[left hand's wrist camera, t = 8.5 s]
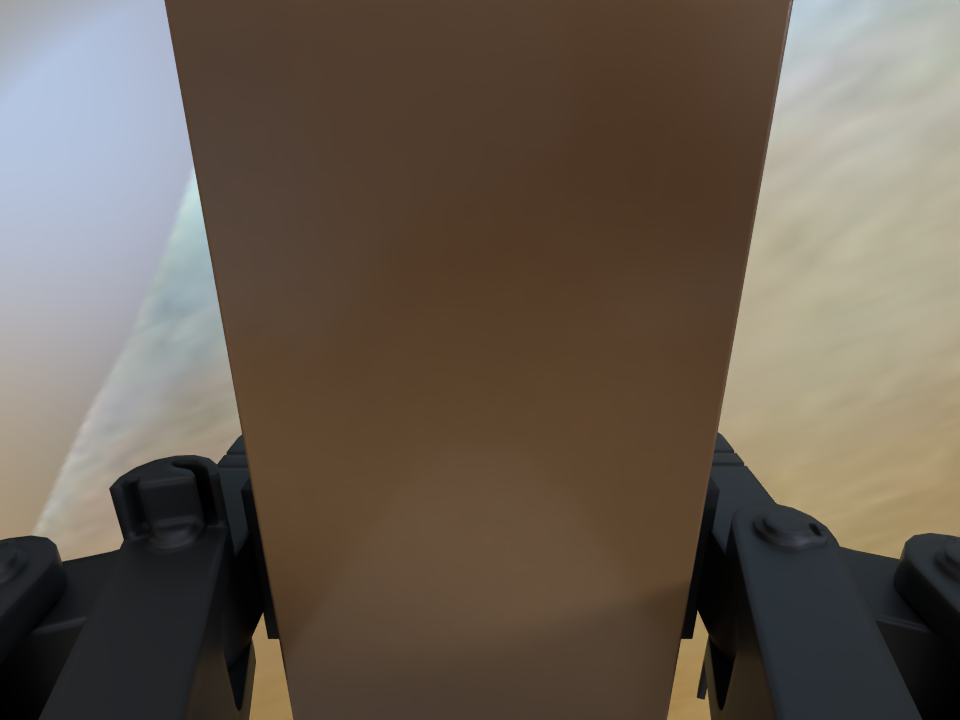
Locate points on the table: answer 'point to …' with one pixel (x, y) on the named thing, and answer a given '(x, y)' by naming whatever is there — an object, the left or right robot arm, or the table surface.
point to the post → (479, 329)
